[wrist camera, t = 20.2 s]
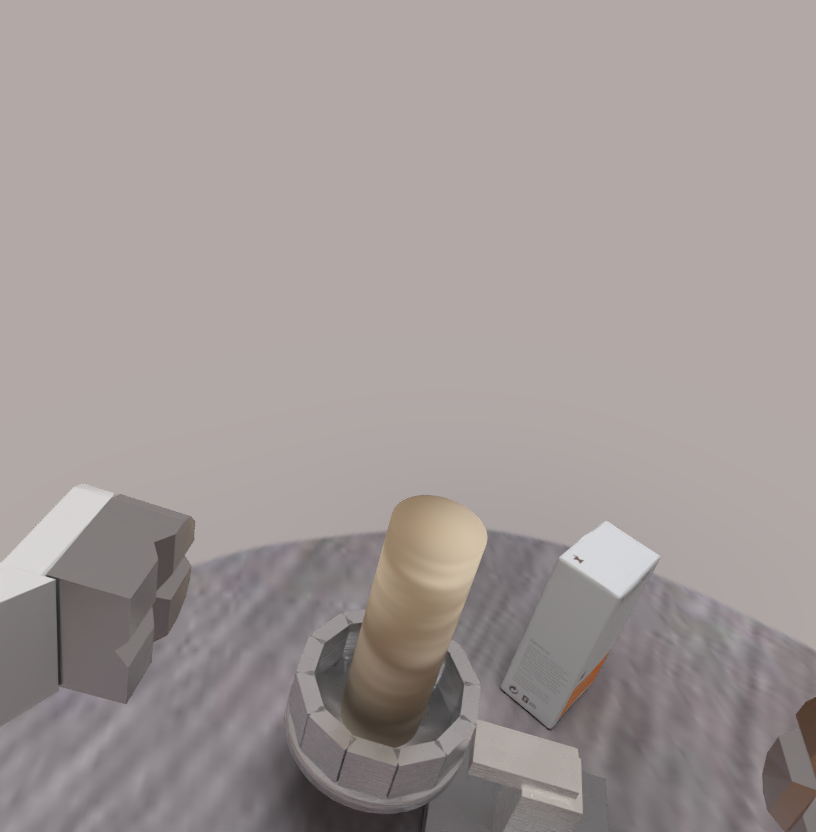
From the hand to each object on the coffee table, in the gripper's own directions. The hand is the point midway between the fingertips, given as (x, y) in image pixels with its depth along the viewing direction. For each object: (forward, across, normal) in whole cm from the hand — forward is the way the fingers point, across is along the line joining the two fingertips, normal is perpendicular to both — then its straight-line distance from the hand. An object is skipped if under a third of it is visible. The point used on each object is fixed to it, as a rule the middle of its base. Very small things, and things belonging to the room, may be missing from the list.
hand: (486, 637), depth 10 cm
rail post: (+17, 0, +24) cm, 29 cm away
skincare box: (+29, -11, +32) cm, 45 cm away
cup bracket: (+17, -5, +32) cm, 37 cm away
